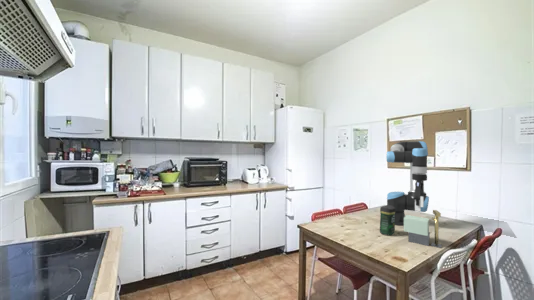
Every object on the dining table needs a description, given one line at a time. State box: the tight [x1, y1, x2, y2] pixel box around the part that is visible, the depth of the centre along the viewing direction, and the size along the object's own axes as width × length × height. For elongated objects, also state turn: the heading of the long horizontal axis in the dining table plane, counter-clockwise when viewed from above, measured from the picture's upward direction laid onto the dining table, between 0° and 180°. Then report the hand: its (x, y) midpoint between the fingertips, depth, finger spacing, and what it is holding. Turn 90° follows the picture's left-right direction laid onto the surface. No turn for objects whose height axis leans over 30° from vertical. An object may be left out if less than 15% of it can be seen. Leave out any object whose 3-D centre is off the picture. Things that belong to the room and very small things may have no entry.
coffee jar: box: [379, 204, 396, 236], centre depth 152 cm, size 10×8×19 cm
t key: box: [431, 209, 442, 245], centre depth 134 cm, size 8×2×19 cm, turn 157°
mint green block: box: [403, 214, 430, 236], centre depth 139 cm, size 12×9×8 cm
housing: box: [407, 231, 442, 249], centre depth 136 cm, size 16×7×6 cm, turn 50°
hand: (419, 208), depth 138 cm, fingers open, 13 cm apart
